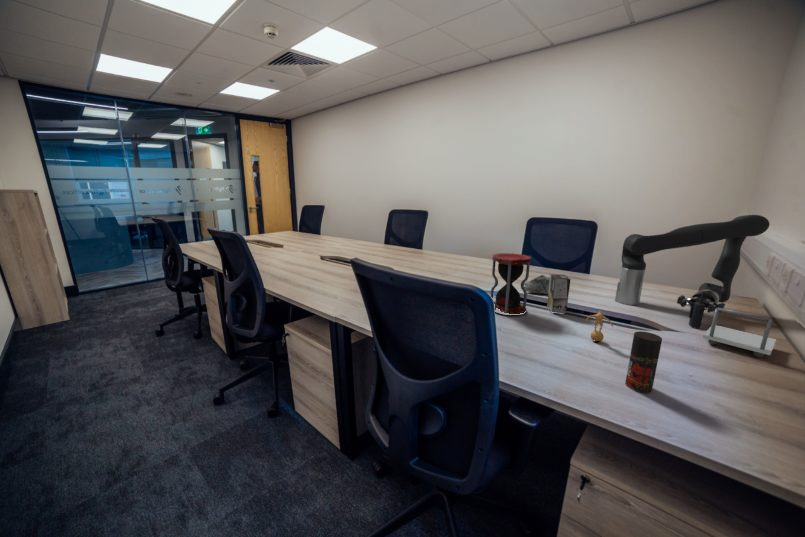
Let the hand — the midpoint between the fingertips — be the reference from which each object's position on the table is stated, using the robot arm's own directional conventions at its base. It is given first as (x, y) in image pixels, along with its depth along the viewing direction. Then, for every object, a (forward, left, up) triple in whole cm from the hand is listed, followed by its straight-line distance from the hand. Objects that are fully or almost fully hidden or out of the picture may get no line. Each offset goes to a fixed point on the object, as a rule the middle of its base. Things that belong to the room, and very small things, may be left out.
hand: (695, 307), depth 126 cm
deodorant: (+2, -65, -9) cm, 65 cm away
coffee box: (-42, -25, -9) cm, 50 cm away
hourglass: (-56, -42, -9) cm, 70 cm away
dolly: (+14, -9, -8) cm, 19 cm away
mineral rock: (-62, -5, -9) cm, 63 cm away
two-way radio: (0, +2, -9) cm, 9 cm away
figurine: (-17, -45, -9) cm, 49 cm away
